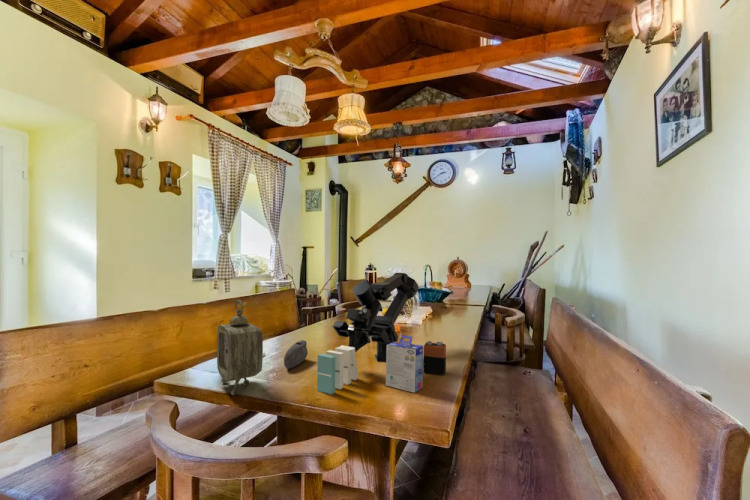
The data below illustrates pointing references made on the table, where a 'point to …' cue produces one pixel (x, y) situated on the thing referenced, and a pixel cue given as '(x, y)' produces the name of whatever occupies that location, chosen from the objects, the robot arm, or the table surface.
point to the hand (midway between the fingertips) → (349, 354)
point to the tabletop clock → (239, 349)
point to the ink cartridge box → (404, 365)
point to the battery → (435, 358)
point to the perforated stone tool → (295, 354)
